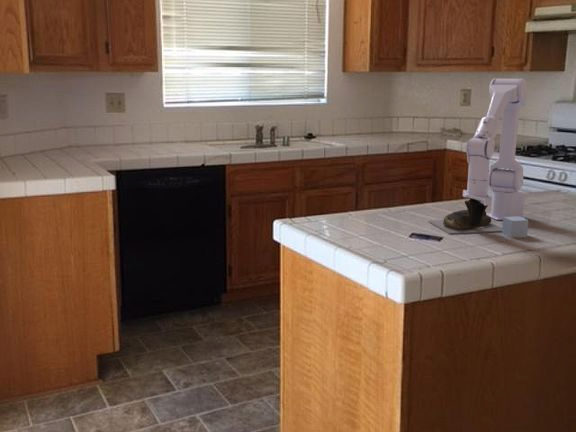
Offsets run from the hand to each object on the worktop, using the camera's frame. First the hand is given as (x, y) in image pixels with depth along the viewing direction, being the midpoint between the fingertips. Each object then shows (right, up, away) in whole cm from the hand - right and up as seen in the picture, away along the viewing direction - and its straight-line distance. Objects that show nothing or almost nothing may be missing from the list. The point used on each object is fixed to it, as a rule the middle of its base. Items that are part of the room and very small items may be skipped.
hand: (475, 225), depth 188 cm
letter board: (-1, -1, +6) cm, 6 cm away
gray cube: (+10, -3, -4) cm, 11 cm away
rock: (-1, 0, +6) cm, 6 cm away
